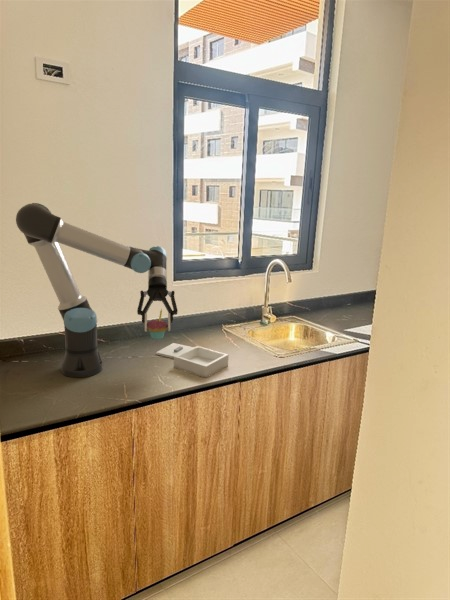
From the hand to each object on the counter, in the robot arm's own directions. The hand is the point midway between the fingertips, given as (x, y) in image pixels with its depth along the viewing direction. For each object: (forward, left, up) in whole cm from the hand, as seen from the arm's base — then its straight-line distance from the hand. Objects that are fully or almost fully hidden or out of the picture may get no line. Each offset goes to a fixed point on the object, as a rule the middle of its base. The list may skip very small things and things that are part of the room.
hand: (157, 329), depth 159 cm
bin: (+15, -11, -17) cm, 25 cm away
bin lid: (+21, +6, -17) cm, 28 cm away
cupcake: (+2, +2, -4) cm, 6 cm away
